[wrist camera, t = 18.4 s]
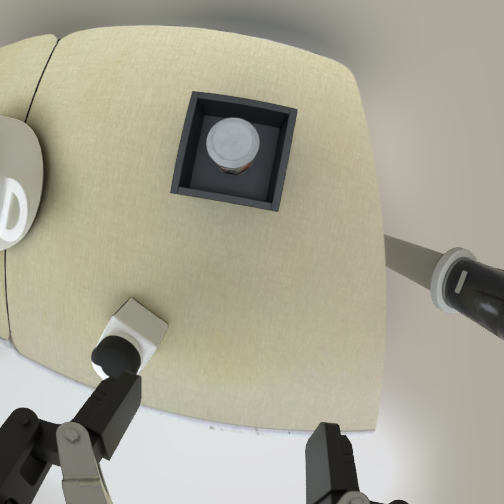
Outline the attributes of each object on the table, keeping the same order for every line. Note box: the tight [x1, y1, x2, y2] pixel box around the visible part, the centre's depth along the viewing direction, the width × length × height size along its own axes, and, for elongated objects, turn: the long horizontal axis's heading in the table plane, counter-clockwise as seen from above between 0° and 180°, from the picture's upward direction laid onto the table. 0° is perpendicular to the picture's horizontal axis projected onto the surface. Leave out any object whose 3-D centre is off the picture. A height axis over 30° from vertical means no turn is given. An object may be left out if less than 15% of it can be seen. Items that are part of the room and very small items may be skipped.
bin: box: [170, 91, 297, 212], centre depth 31 cm, size 12×12×8 cm
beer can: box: [206, 118, 259, 176], centre depth 29 cm, size 5×5×12 cm
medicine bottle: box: [91, 298, 168, 380], centre depth 33 cm, size 7×7×12 cm
